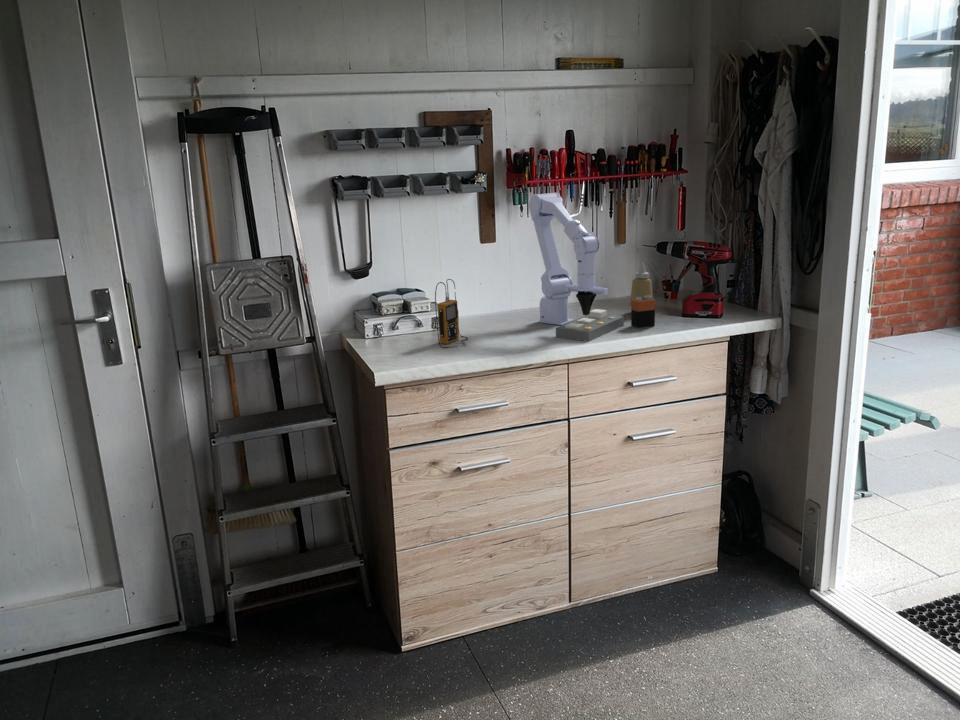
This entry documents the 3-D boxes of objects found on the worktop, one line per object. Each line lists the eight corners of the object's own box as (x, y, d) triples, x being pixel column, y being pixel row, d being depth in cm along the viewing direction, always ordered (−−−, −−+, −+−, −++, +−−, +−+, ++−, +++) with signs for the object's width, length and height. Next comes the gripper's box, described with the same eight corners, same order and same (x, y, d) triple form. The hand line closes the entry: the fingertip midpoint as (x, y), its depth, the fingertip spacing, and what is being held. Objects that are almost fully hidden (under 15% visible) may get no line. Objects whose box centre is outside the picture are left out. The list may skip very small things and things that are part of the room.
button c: (589, 320, 262) (589, 311, 261) (595, 317, 266) (595, 308, 265) (600, 321, 260) (600, 312, 259) (607, 318, 263) (607, 310, 262)
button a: (564, 334, 250) (564, 325, 249) (571, 331, 254) (571, 322, 253) (576, 336, 248) (576, 327, 247) (583, 333, 251) (583, 324, 250)
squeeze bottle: (635, 309, 284) (636, 260, 279) (656, 311, 280) (657, 261, 275) (625, 313, 278) (626, 263, 273) (647, 316, 273) (648, 265, 269)
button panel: (555, 336, 250) (555, 327, 249) (591, 321, 269) (591, 312, 268) (588, 341, 243) (588, 331, 243) (623, 325, 262) (623, 315, 261)
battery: (655, 326, 259) (655, 296, 256) (636, 328, 257) (637, 298, 254) (648, 323, 263) (649, 294, 260) (630, 325, 261) (630, 296, 258)
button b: (577, 329, 256) (577, 320, 256) (583, 326, 260) (583, 317, 259) (589, 330, 254) (589, 321, 253) (595, 328, 257) (595, 319, 256)
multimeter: (459, 350, 239) (456, 285, 234) (432, 347, 244) (429, 283, 239) (484, 339, 251) (482, 277, 245) (458, 336, 256) (455, 275, 251)
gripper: (560, 273, 253) (560, 314, 257) (600, 277, 245) (600, 319, 248) (571, 270, 258) (571, 310, 262) (611, 273, 250) (610, 315, 254)
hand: (586, 314), depth 256 cm, fingers closed
